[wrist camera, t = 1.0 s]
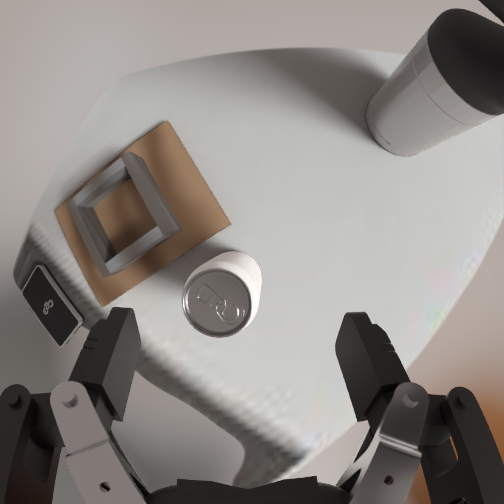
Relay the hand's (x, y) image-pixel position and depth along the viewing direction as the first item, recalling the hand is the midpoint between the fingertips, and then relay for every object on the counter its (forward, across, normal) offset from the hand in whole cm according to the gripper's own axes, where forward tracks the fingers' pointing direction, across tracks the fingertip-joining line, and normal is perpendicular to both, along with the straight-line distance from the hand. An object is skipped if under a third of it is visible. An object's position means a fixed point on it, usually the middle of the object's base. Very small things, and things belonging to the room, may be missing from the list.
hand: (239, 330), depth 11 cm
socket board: (+25, +13, +6) cm, 29 cm away
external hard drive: (+22, +27, +19) cm, 40 cm away
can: (+21, 0, +12) cm, 24 cm away
